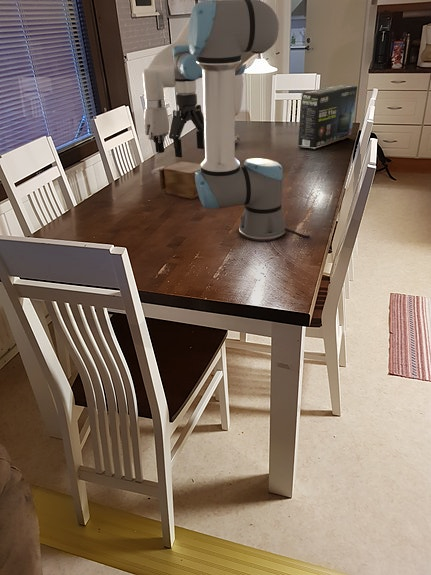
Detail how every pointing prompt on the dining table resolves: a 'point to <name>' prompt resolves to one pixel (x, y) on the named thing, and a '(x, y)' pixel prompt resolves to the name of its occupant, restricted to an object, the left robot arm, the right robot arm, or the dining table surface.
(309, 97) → the router box
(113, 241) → the dining table surface
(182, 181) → the wooden block
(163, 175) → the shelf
